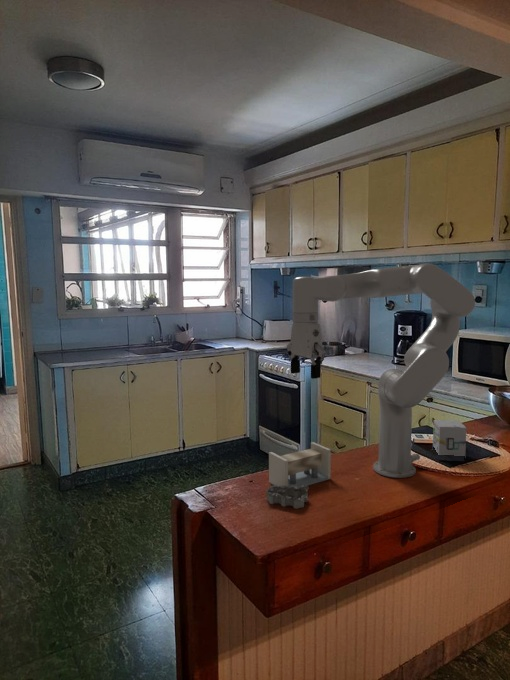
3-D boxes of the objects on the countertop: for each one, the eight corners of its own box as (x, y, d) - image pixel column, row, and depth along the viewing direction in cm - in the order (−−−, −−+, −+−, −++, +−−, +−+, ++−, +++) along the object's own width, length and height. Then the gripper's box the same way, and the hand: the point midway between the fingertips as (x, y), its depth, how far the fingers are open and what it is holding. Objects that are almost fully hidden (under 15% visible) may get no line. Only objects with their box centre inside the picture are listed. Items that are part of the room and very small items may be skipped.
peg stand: (313, 470, 146) (313, 442, 145) (330, 478, 140) (330, 449, 139) (269, 482, 138) (268, 452, 137) (285, 492, 131) (285, 461, 130)
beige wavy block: (310, 461, 144) (310, 448, 143) (321, 466, 139) (321, 453, 139) (278, 469, 137) (278, 456, 137) (288, 475, 133) (288, 461, 132)
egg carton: (310, 500, 127) (310, 485, 126) (300, 511, 120) (300, 496, 120) (274, 492, 131) (274, 478, 131) (263, 503, 125) (263, 488, 124)
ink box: (432, 452, 161) (433, 419, 160) (458, 453, 160) (459, 419, 159) (438, 461, 153) (439, 426, 152) (465, 462, 152) (467, 427, 150)
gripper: (334, 319, 134) (334, 378, 136) (297, 316, 149) (297, 370, 150) (314, 320, 130) (313, 381, 132) (278, 317, 145) (278, 372, 146)
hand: (305, 375), depth 141 cm, fingers open, 9 cm apart
